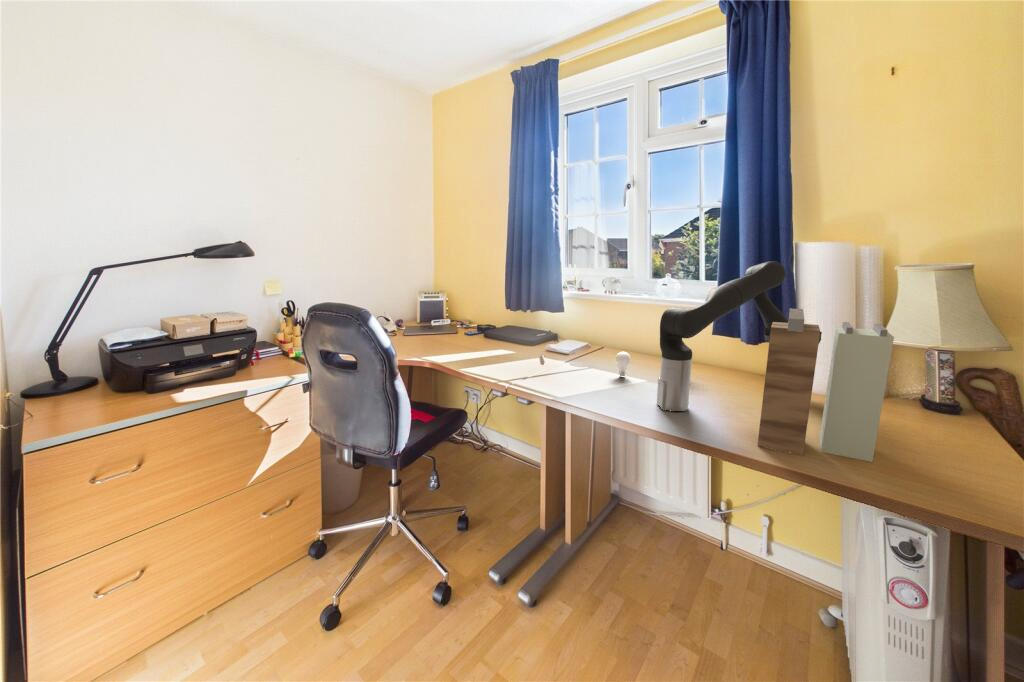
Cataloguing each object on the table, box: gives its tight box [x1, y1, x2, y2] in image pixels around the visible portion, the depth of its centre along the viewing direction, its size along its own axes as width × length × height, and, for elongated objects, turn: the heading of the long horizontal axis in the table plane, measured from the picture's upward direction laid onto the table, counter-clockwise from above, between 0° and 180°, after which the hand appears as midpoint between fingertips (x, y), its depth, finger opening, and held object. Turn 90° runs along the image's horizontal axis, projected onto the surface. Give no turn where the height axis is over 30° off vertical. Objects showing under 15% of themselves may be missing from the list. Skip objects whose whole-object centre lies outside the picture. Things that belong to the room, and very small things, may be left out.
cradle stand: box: [819, 321, 895, 463], centre depth 105 cm, size 10×10×32 cm
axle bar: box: [787, 307, 805, 332], centre depth 107 cm, size 22×3×3 cm, turn 146°
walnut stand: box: [757, 322, 821, 456], centre depth 109 cm, size 10×10×32 cm
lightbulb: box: [614, 351, 632, 377], centre depth 173 cm, size 6×6×11 cm
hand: (793, 327), depth 121 cm, fingers open, 8 cm apart
